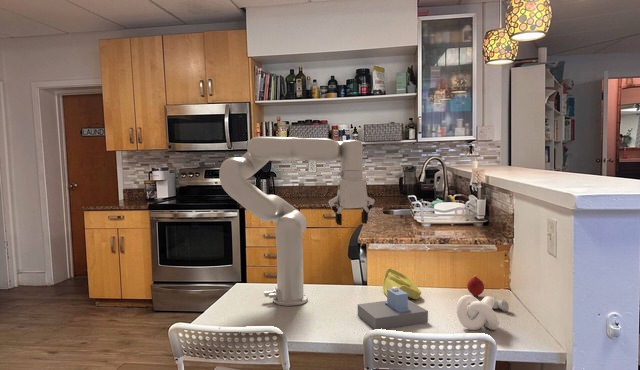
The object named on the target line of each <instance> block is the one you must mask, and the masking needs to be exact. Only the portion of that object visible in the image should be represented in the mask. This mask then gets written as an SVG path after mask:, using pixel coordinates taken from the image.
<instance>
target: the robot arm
mask: <svg viewBox="0 0 640 370" xmlns="http://www.w3.org/2000/svg"><path fill="white" fill-rule="evenodd" d="M246 149H247V151H246V152H245V153H244V154H242V156H241V157H239V156H238V157H237V156H233V157H229V158H227V159H225V160H223V162H222V163H221V165H220V168H219V172H218V173H219V182H220V185H221V187H222V189H223V190H224V192H226V193H225V194H228V195H229V197H230V198H231V199H233V200H234V201H236V202H237V203H238V204H239V205H241V206H242V207H243V208H244V209H245V210H247V211H248V212H249V213H251V214H252V215H254V216H255V217H256V218H257V219H258V220H260V221H262V222H264V223H267V222H273V223H274V225H275V229H274V232H275V243H276V275H277V276H276V284H277V286H275V288H274V289H273V290H270V291H269V290H267V291H266V290H265V291H264V292H263V293H264V294H263V295H264V297H265V298H267V297H268V298H269V299H272V302H273V303H274V304H276V305H279V306H282V307H283V306H286V307H290V306H291V307H292V306H293V307H294V306H300V305H303V304H305V303H307V302H308V300H309V299H308V298H309V296H308V295H307V294H306V293H304V244H303V233H304V232H305V231H306V229H307V226H308V223H307V219H306V216H305V215H304V214H303V213H302V212H301V211H299V210H298V209H297V208H296V207H294V206H293V205H292V204H290V203H289V202H287V201H286V200H285V199H284V198H282V197H281V196H278V195H275V194H267V193H265V192H264V191H262V190H260V189H259V188H258V187H257V186H256V185H254V184H253V183H251V182H250V181H248V180H247V179H249V178H251V177H252V176H254V175H255V174H256V173H257V172H258V171H259V170H261V169H262V168H263V167H264V166H265V165H267V163H268V162H270V161H279V162H297V161H317V162H320V161H321V162H337V161H340V171H339V172H337V174H336V175H337V177H340V179H339V180H338V186H337V195H336V196H334V197H333V198H331V199H329V200H328V202H327V203H328V205H329V207H330V209H331V210H332V211H333V212H334V213H335V223H336V225H337V226H342V225H343V223H342V221H343V219H342V218H343V215H342V213H341V212H342V210H344V209H361V210H362V211H361V223H362V224H364V225H366V224H367V225H368V222H369V212H370V211H371V209H372V208H373V206H374V204H375V202H376V201H375V199H374V198H372V197H370V196H368V190H367V184H366V179H363V143H362V141H361V140H358V139H356V140H355V139H348V140H347V139H346V140H343V141H338V140H337V141H336V140H333V139H331V138H313V137H311V138H310V137H309V138H308V137H307V138H306V137H294V136H293V137H292V136H291V137H290V136H288V137H286V136H254V137H252V138H251V139H250V140H249V141H248V143H247V148H246ZM335 203H336V205H337V207H336V206H335Z"/></svg>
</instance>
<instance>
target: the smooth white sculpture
mask: <svg viewBox="0 0 640 370" xmlns="http://www.w3.org/2000/svg"><path fill="white" fill-rule="evenodd" d="M490 297H491V298H492V299H493V300H494V304H493V307H492V310H498V309H500V310H502V311H503V312H504V313H507V312H509V309H510V306H509V303H508V301H507V300H506V299H502V300H501V299H498V298H497V297H494V296H490Z"/></svg>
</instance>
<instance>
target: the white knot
mask: <svg viewBox="0 0 640 370" xmlns="http://www.w3.org/2000/svg"><path fill="white" fill-rule="evenodd" d="M491 297H492V296H490V295H487V296H485V297H483V298H482V299H481V300H479V299H478V298H476V297H474V296H473V295H472V294H465V295H462V296H461V297H459V299H458V301H457V303H456V309H455V310H456V314H457V317H458V320H459V323H460V324H461V325H462V326H463V327H464V328H465V329H467V330H469V329H471V330H470V331H477V330H480V329H482V327H484V326H485V328H487V329H488V330H490V331H491V330H493V331H494V330H497V329H498V328H499V325H500V321H499V318H498V315H497V314H496V312H495V311H494V309H492V307H493V304H494V300H493V299H492V298H491Z"/></svg>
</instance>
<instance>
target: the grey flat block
mask: <svg viewBox="0 0 640 370" xmlns="http://www.w3.org/2000/svg"><path fill="white" fill-rule="evenodd" d="M385 302H387V300H382V301H374V302H373V301H372V302H365V303H359V304H357V316H358V317H359V318H360V319H362V320H363V321H364V322H365V323H366V324H367V325H369V326H370V327H371V329H374V330H375V329H381V328H382V330H388V329H393V328H395V329H396V328H402V327H407V326H406V325H408V326H414V325H413V324H415V325H420V324H419V323H421V324H426V323H425V322H429V311H428V310H426V308H423V307H422V306H420V305H418V304H416V303H415V302H413V301H411V300H409V299H408V308H409V309H410V310H411V311H407V312H400V313H399V312H398V311H397V312H396V311H394V310H393V309H391V308H390V307H388V306H387V304H385ZM401 326H402V327H401Z"/></svg>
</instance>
